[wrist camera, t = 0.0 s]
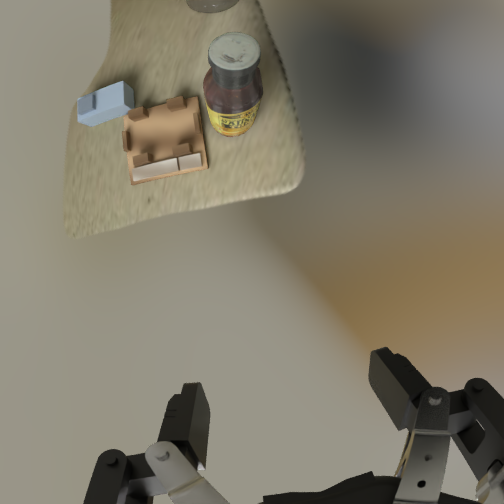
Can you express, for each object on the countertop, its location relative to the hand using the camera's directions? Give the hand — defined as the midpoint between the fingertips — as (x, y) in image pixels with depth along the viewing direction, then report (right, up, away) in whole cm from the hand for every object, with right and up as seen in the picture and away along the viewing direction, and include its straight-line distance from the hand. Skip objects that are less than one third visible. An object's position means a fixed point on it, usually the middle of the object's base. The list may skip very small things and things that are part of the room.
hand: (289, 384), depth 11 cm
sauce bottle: (-4, +25, +24) cm, 35 cm away
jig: (-15, +23, +24) cm, 36 cm away
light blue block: (-24, +29, +23) cm, 43 cm away
